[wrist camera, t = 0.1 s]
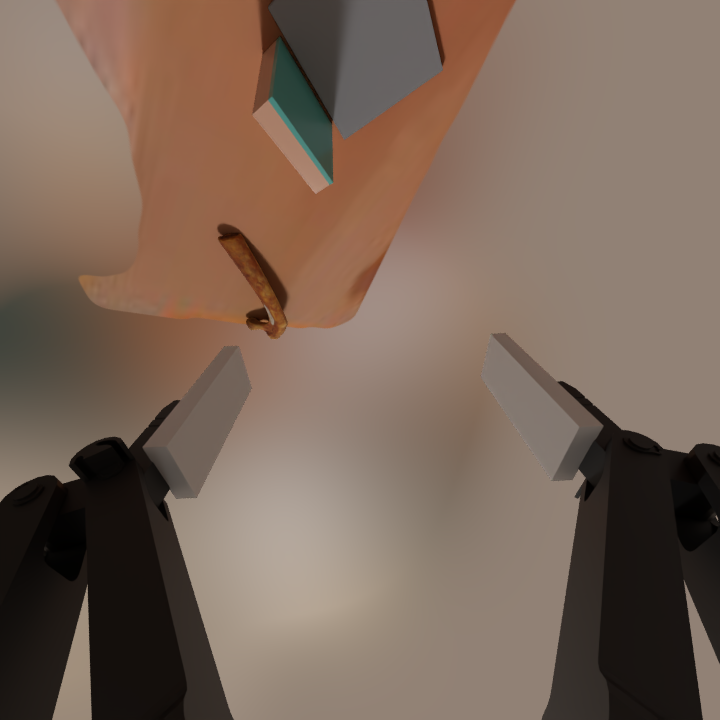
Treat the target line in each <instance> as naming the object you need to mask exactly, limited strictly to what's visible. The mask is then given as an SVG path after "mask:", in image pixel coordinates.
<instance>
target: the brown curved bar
mask: <svg viewBox="0 0 720 720" xmlns="http://www.w3.org/2000/svg"><path fill="white" fill-rule="evenodd" d="M218 240H219V242H220V243H221V245H222V246H223V248H224V249H225V250H226V251H227V253H228V254H229V256H230V257H231V258H232V260H233V261H234V263H235V264H236V265H237V267H238V268H239V269H240V271H241V272H242V274H243V275H244V276H245V278H246V279H247V281H248V282H249V284H250V285H251V287H252V288H253V290H254V291H255V292H256V294H257V296H258V297H259V298H260V300H261V302H262V303H263V305H264V307H265V309H266V311H267V313H268V316H269V322H267V323H265V322H260V321H258V320H257V319H255V318H249V319H247V320H246V324H247V326H248V327H249V329H251V330H257V329H261V330H264V331H266V332H267V334H268V336H269V337H270V338H271V339H278V338H279V337H280V335H282V334H283V333H284V331H285V329H286V327H287V319H286V317H285V315H284V312H283V310H282V308H281V306H280V304H279V302H278V300H277V297H276V296H275V294H274V292H273V290H272V288H271V286H270V284H269V282H268V280H267V279H266V277H265V275H264V274H263V271H262V269H261V267H260V265H259V264H258V262H257V261H256V259H255V257H254V255H253V254H252V252H251V250H250V248H249V247H248V245H247V243H246V241H245V239H244V238H243V236H242V235H241V234H240V233H229V234H226V235H224V236H220V237H218Z"/></svg>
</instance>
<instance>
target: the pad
mask: <svg viewBox="0 0 720 720" xmlns="http://www.w3.org/2000/svg"><path fill="white" fill-rule="evenodd" d="M268 9H269V11H270V13H271V14H272V16H273V18H274V19H275V21H276V23H277V25H278V26H279V28H280V30H281V32H282V33H283V35H284V37H285V38H286V40H287V42H288V44H289V45H290V47H291V49H292V50H293V52H294V54H295V56H296V57H297V59H298V61H299V62H300V64H301V66H302V68H303V69H304V71H305V73H306V75H307V76H308V78H309V80H310V81H311V83H312V85H313V87H314V88H315V90H316V92H317V93H318V95H319V97H320V99H321V100H322V102H323V104H324V106H325V107H326V109H327V111H328V112H329V114H330V116H331V118H332V119H333V121H334V123H335V124H336V126H337V128H338V130H339V131H340V133H341V135H342V137H343V138H344V140H345V139H346V138H348V137H349V136H351V135H352V134H353V133H355V132H356V131H358V130H359V129H360V128H362V127H363V126H365V125H366V124H367V123H369V122H370V121H372V120H373V119H375V118H376V117H377V116H379V115H380V114H382V113H383V112H384V111H386V110H387V109H389V108H390V107H391V106H393V105H394V104H396V103H397V102H399V101H400V100H401V99H403V98H404V97H406V96H407V95H408V94H410V93H411V92H413V91H414V90H415V89H417V88H418V87H420V86H421V85H422V84H424V83H425V82H427V81H428V80H430V79H431V78H432V77H434V76H435V75H437V74H438V73H439V72H441V71H442V70H443V68H442V64H441V60H440V55H439V51H438V47H437V42H436V38H435V34H434V29H433V25H432V21H431V16H430V12H429V8H428V3H427V0H273V1H272V2H271V3H270V5H269V6H268Z"/></svg>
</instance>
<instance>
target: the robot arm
mask: <svg viewBox="0 0 720 720" xmlns="http://www.w3.org/2000/svg"><path fill="white" fill-rule="evenodd" d="M481 378H482V380H483V381H484V383H485V384H486V386H487V387H488V389H489V390H490V391H491V393H492V394H493V396H494V397H495V399H496V400H497V402H498V403H499V405H500V406H501V407H502V409H503V410H504V412H505V413H506V415H507V416H508V418H509V419H510V421H511V422H512V424H513V425H514V427H515V428H516V430H517V431H518V432H519V434H520V435H521V437H522V438H523V440H524V441H525V443H526V444H527V446H528V447H529V449H530V450H531V451H532V453H533V454H534V456H535V457H536V459H537V460H538V462H539V463H540V465H541V466H542V468H543V469H544V471H545V472H546V473H547V475H548V476H549V478H550V479H551V481H560V480H572V479H573V478H574V476H575V474H576V473H577V471H578V469H579V470H580V471H581V472H582V473H583V475H584V476H585V477H586V479H585V480H584V482H583V484H582V485H581V487H580V489H579V490H578V492H577V493H576V495H575V497H576V498H579V497H580V503H579V509H578V516H577V523H576V529H575V536H574V543H573V549H572V556H571V563H570V569H569V576H568V583H567V589H566V596H565V603H564V609H563V616H562V623H561V630H560V636H559V643H558V649H557V656H556V663H555V669H554V676H553V683H552V689H551V695H550V699H549V702H548V705H547V708H546V710H545V712H544V714H543V717H542V720H703V718H702V711H701V703H700V696H699V688H698V681H697V674H696V667H695V660H694V653H693V645H692V637H691V630H690V623H689V615H688V608H687V601H686V593H685V586H684V581H685V583H686V585H687V588H688V590H689V592H690V595H691V597H692V600H693V602H694V604H695V607H696V609H697V611H698V613H699V616H700V618H701V621H702V623H703V626H704V628H705V630H706V633H707V635H708V637H709V640H710V642H711V644H712V647H713V649H714V651H715V654H716V656H717V659H718V661H719V663H720V447H719V446H716V445H712V444H704V443H702V444H697V445H695V447H694V448H693V449H692V450H691V451H690V452H689V454H688V453H683V452H677V451H672V450H666V449H663V448H662V447H661V446H660V445H659V444H658V443H656V442H655V441H653V440H652V439H650V438H648V437H646V436H644V435H642V434H639V433H636V432H632V431H627V430H621V429H620V428H619V427H618V426H617V425H616V424H615V423H613V421H611V420H610V419H609V418H608V417H607V416H606V415H604V413H602V412H601V411H600V410H599V409H598V408H597V407H596V406H593V404H592V403H591V402H590V401H589V400H588V399H585V396H583V395H582V394H581V393H580V392H579V391H578V390H577V389H576V388H574V387H572V386H570V385H568V384H567V383H565V382H563V381H560V382H557V381H556V380H555V379H553V378H552V377H551V376H550V375H549V374H548V373H547V372H546V371H545V370H544V369H543V368H542V367H541V366H540V365H539V364H538V363H536V362H535V361H534V360H533V359H532V358H531V357H530V356H529V355H528V354H527V353H526V352H525V351H524V350H523V349H522V348H521V347H519V346H518V345H517V344H516V343H515V342H514V341H513V340H512V339H511V338H510V337H509V336H508V335H507V334H506V333H498V334H491V335H490V339H489V343H488V348H487V352H486V356H485V361H484V365H483V370H482V374H481ZM251 389H252V387H251V384H250V381H249V377H248V374H247V371H246V367H245V365H244V361H243V358H242V354H241V351H240V348H239V346H224V347H223V349H222V350H221V351H220V352H219V354H218V355H217V356H216V357H215V359H214V360H213V361H212V362H211V363H210V365H209V366H208V367H207V368H206V370H205V371H204V372H203V373H202V374H201V376H200V377H199V378H198V379H197V381H196V382H195V383H194V384H193V386H192V387H191V388H190V389H189V391H188V392H187V393H186V394H185V395H184V397H183V398H182V399H181V400H176V401H173V402H172V403H170V404H169V405H168V406H166V407H165V408H163V409H162V410H161V412H160V413H159V414H158V415H157V416H156V417H155V420H153V421H152V422H151V423H150V425H149V427H148V428H146V429H145V430H144V432H143V433H142V434H141V435H140V436H139V437H138V439H137V440H136V441H135V442H134V443H133V444H132V445H131V447H130V448H129V449H128V448H127V446H126V445H125V443H124V442H123V441H122V439H121V438H118V437H109V438H104V439H101V440H98V441H95V442H94V443H92V444H90V445H88V446H86V447H84V448H83V449H82V450H80V451H79V452H78V453H77V454H76V455H75V456H74V457H73V458H72V459H71V461H70V464H69V467H70V468H71V469H72V470H73V471H74V472H75V473H76V474H77V475H78V476H79V477H80V479H78V480H74V481H71V482H67V483H64V484H62V483H61V482H60V481H59V480H58V479H57V478H56V477H55V476H51V475H46V476H42V477H37V478H35V479H33V480H30V481H28V482H26V483H24V484H22V485H21V486H18V487H17V488H15V489H14V490H13V491H12V492H10V493H9V494H8V495H7V496H5V497H4V499H3V500H2V501H1V502H0V720H52V717H53V713H54V710H55V706H56V702H57V698H58V695H59V691H60V687H61V683H62V679H63V675H64V672H65V668H66V664H67V660H68V656H69V652H70V649H71V645H72V641H73V637H74V634H75V629H76V626H77V622H78V618H79V615H80V611H81V607H82V603H83V599H84V596H85V592H86V588H87V584H88V607H89V608H88V609H89V610H88V612H89V644H90V676H91V706H92V720H234V719H233V717H232V715H231V713H230V710H229V707H228V704H227V701H226V697H225V694H224V691H223V687H222V684H221V681H220V677H219V674H218V671H217V667H216V664H215V661H214V658H213V654H212V651H211V648H210V644H209V641H208V638H207V634H206V631H205V628H204V624H203V621H202V618H201V614H200V612H199V608H198V604H197V601H196V598H195V595H194V591H193V588H192V585H191V581H190V578H189V575H188V571H187V568H186V565H185V561H184V558H183V555H182V551H181V548H180V545H179V542H178V538H177V535H176V532H175V529H174V525H173V522H172V518H171V515H170V512H169V508H168V505H167V503H166V502H165V501H164V497H165V496H166V494H167V492H168V491H169V489H170V490H171V492H172V493H173V495H174V496H175V498H176V499H179V498H197V496H198V494H199V492H200V490H201V488H202V486H203V484H204V482H205V480H206V478H207V476H208V474H209V472H210V470H211V468H212V466H213V464H214V462H215V460H216V458H217V456H218V454H219V452H220V450H221V448H222V446H223V444H224V442H225V440H226V438H227V436H228V434H229V432H230V430H231V428H232V426H233V424H234V422H235V420H236V418H237V416H238V414H239V413H240V411H241V408H242V407H243V405H244V403H245V401H246V399H247V397H248V395H249V392H250V391H251ZM580 495H581V496H580ZM716 515H717V517H718V521H717V519H716V517H715V516H716Z"/></svg>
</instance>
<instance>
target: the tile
mask: <svg viewBox="0 0 720 720" xmlns="http://www.w3.org/2000/svg"><path fill="white" fill-rule="evenodd" d="M252 115H253V116H254V118H255V119H256V120H257V121H258V123H259V124H260V125H261V126H262V128H263V129H264V130H265V131H266V133H267V134H268V135H269V136H270V138H271V139H272V140H273V141H274V143H275V144H276V145H277V146H278V148H279V149H280V150H281V151H282V153H283V154H284V155H285V156H286V158H287V159H288V160H289V161H290V163H291V164H292V165H293V166H294V168H295V169H296V170H297V171H298V173H299V174H300V175H301V176H302V178H303V179H304V180H305V181H306V183H307V184H308V185H309V186H310V188H311V189H312V190H313V191H314V192H315V194H316V193H318V192H319V191H321V190H322V189H324V188H325V187H327V186H329V185H330V184H332V183H333V148H332V123H331V122H330V120H329V118H328V117H327V115H326V113H325V112H324V110H323V108H322V107H321V105H320V103H319V101H318V100H317V98H316V96H315V95H314V93H313V91H312V90H311V88H310V86H309V85H308V83H307V81H306V79H305V78H304V76H303V74H302V73H301V71H300V69H299V68H298V66H297V64H296V63H295V61H294V59H293V57H292V56H291V54H290V52H289V51H288V49H287V47H286V46H285V44H284V42H283V41H282V39H281V37H279V38H278V39H277V40H276V41H275V42H274V43H273V44H272V45H271V46H270V47H269V48H268V49H267V50H266V51H265V52H264V53H263V55H262V61H261V66H260V72H259V78H258V84H257V90H256V96H255V101H254V107H253V113H252Z"/></svg>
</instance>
